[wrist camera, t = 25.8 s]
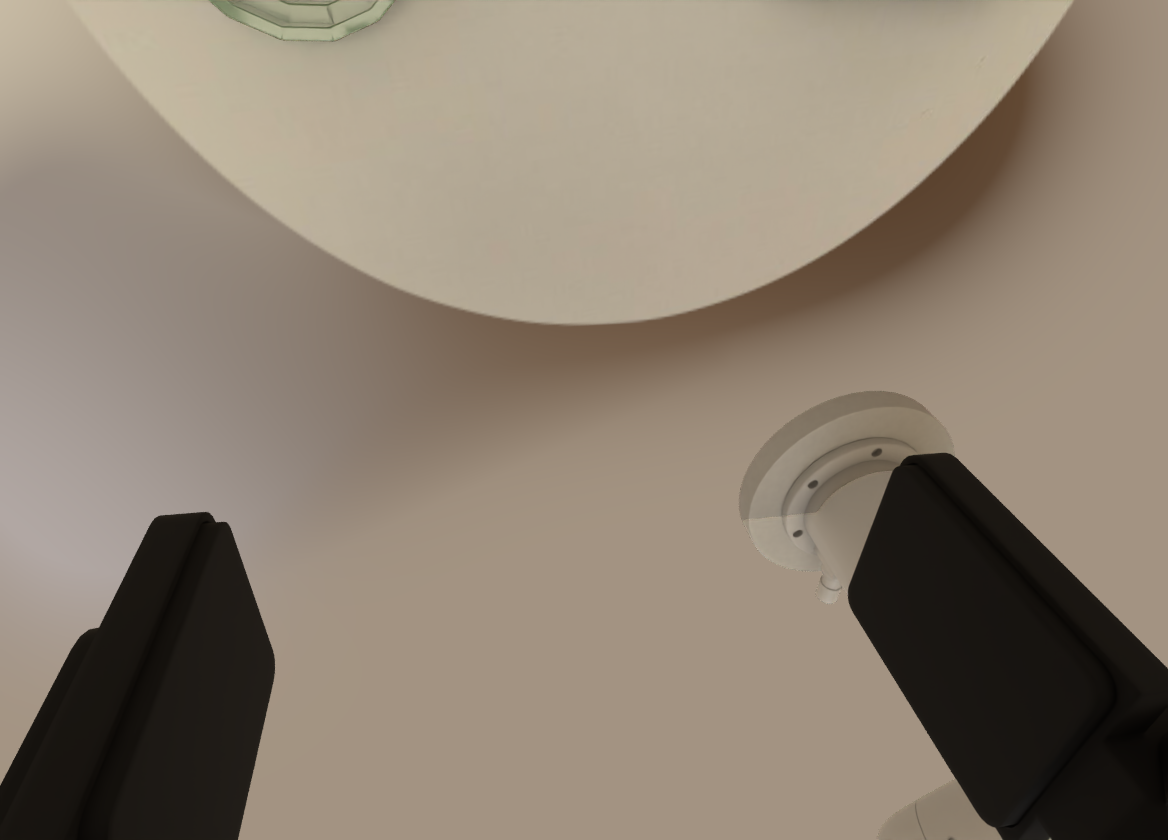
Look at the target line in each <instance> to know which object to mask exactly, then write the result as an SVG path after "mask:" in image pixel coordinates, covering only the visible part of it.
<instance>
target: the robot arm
mask: <svg viewBox="0 0 1168 840" xmlns="http://www.w3.org/2000/svg"><path fill="white" fill-rule="evenodd" d="M782 522H783V526H784V529H785V531H786V533H787V535H788V536H789V538H790V539H791V541H792V543H793V544H794V545H796V546H797V547H798V548H799V549H800V550H802V551H804V552H806V553H809V554H813V555H816V556H818V557H819V559H820V560H821V562H822V566H821V570H822V572H823V576H822V577H821V578H820V581H819V584H818V587H817V589H816V596H817V598H818V599H819V600H821V601H822V602H824V603H827V604H833V603H835V602H837V599H838V596H839V594H840V591H841V588H843V589H844V591H845V592H846V594H847V596H848V600H849V604H850V607H851V609H852V611H853V613H854V615H855V616H856V618H857V619H858V621H859V623H860V625H861V626H862V628H863V629H864V631H865V633H866V634H867V636H868V637H869V639H870V641H871V642H872V644H873V646H874V647H875V649H876V650H877V652H878V653H879V655H880V657H881V658H882V660H883V662H884V663H885V665H886V666H887V668H888V670H889V671H890V673H891V675H892V676H893V678H894V679H895V681H896V683H897V684H898V686H899V688H900V689H901V691H902V692H903V694H904V696H905V697H906V699H907V701H908V702H909V704H910V705H911V707H912V709H913V710H914V712H915V714H916V715H917V717H918V718H919V720H920V721H921V723H922V725H923V726H924V728H925V730H926V731H927V733H928V734H929V736H930V738H931V739H932V741H933V743H934V744H935V746H936V748H937V749H938V751H939V752H940V754H941V755H942V757H943V759H944V760H945V762H946V764H947V765H948V767H949V769H950V770H951V772H952V773H953V775H954V777H955V778H956V779H954V780H952V781H951V782H949V783H947V784H945V785H943V786H941V787H939V788H938V789H936V790H934V791H932V792H930V793H928V794H927V795H925V796H923V797H921V798H920V799H918V800H916V801H914V802H913V803H911V804H909V805H907V806H906V807H904V808H902V809H901V810H899V811H898V812H896V813H895V814H893V815H892V816H891V817H890V818H889V819H888V820H887V821H886V822H885V823H884V824H883V825H882V827H881V829H880V831H879V833H878V836H877V840H1168V669H1167V667H1166V666H1165V665H1164V664H1163V663H1162V662H1161V661H1160V660H1159V659H1158V658H1157V657H1155V655H1154V654H1153V653H1152V652H1151V651H1150V650H1149V649H1148V648H1146V647H1145V645H1144V644H1142V642H1141V641H1140V640H1139V639H1138V638H1137V637H1136V636H1135V635H1134V634H1132V632H1130V630H1128V629H1127V627H1126V626H1124V625H1123V623H1122V622H1120V621H1119V619H1118V618H1116V617H1115V616H1114V615H1113V614H1112V613H1111V612H1110V611H1109V610H1108V609H1107V608H1106V607H1105V606H1104V605H1103V604H1102V603H1101V602H1100V601H1099V600H1098V599H1097V598H1096V597H1095V596H1094V595H1093V594H1092V593H1091V592H1090V591H1089V590H1088V589H1087V588H1086V587H1085V586H1084V585H1083V584H1082V583H1081V582H1080V581H1079V580H1078V579H1077V578H1076V577H1075V576H1074V575H1073V574H1072V573H1071V572H1070V571H1069V570H1068V569H1067V568H1066V567H1065V566H1064V565H1063V564H1062V563H1061V562H1060V561H1059V560H1058V559H1057V558H1056V557H1055V556H1054V555H1053V554H1052V553H1051V552H1050V551H1049V550H1048V549H1047V548H1046V547H1045V546H1044V545H1043V544H1042V543H1041V542H1040V541H1039V540H1038V539H1037V538H1036V537H1035V536H1034V535H1033V534H1032V533H1031V532H1030V531H1029V530H1028V529H1027V528H1026V527H1025V526H1024V525H1023V524H1022V523H1021V522H1020V521H1019V520H1018V519H1017V518H1016V517H1015V516H1014V515H1013V514H1012V513H1011V512H1010V511H1009V510H1008V509H1007V508H1006V507H1005V506H1004V505H1003V504H1002V503H1001V502H1000V501H999V500H998V499H997V498H996V497H995V496H994V495H993V494H992V493H991V492H990V491H989V490H988V489H987V488H986V487H985V486H984V485H983V484H982V483H981V482H980V481H979V480H978V479H977V478H976V477H975V476H974V475H973V474H972V473H971V472H970V471H969V470H968V469H967V468H966V467H965V466H964V465H963V464H962V463H961V462H960V461H959V460H958V459H957V458H956V457H954V456H953V455H951V454H948V453H935V454H923V455H919V454H918V453H917V452H916V450H915V449H913V448H912V447H911V446H909V445H908V444H907V443H904V442H902V441H899V440H896V439H890V438H869V439H864V440H859V441H855V442H852V443H849V444H846V445H843V446H841V447H839V448H837V449H835V450H833V451H831V452H829V453H827V454H826V455H824V456H823V457H821V458H820V459H818V460H817V461H815V462H814V463H813V464H812V465H811V466H810V467H808V468H807V469H806V470H805V471H804V472H803V473H802V474H801V475H800V477H799V478H798V479H797V480H796V481H795V483H794V484H793V486H792V487H791V489H790V491H789V492H788V494H787V497H786V499H785V502H784V504H783V510H782ZM274 674H275V659H274V653H273V649H272V647H271V644H270V641H269V638H268V635H267V632H266V629H265V626H264V623H263V620H262V618H261V615H260V612H259V609H258V606H257V603H256V600H255V597H254V594H253V591H252V589H251V586H250V583H249V580H248V577H247V574H246V571H245V569H244V565H243V562H242V560H241V557H240V554H239V551H238V548H237V545H236V543H235V540H234V537H233V533H232V531H231V528H230V526H229V525H228V523H227V522H217V523H216V522H215V520H214V518H213V516H212V515H211V514H210V513H208V512H199V513H187V514H175V515H163V516H158V517H156V518H155V519H154V520H153V521H152V523H151V525H150V526H149V528H148V530H147V532H146V534H145V536H144V538H143V540H142V542H141V545H140V547H139V549H138V550H137V552H136V554H135V556H134V558H133V560H132V563H131V564H130V566H129V569H128V571H127V573H126V575H125V577H124V579H123V581H122V583H121V585H120V587H119V589H118V591H117V593H116V595H115V597H114V599H113V601H112V603H111V605H110V607H109V609H108V611H107V613H106V615H105V617H104V619H103V621H102V623H101V625H100V627H99V628H95V629H90V630H88V631H87V632H85V633H84V634H83V635H82V636H80V637H79V639H78V640H77V642H76V643H75V645H74V646H73V648H72V649H71V651H70V653H69V655H68V657H67V659H66V660H65V662H64V664H63V666H62V668H61V670H60V672H59V674H58V676H57V678H56V680H55V682H54V683H53V685H52V687H51V689H50V691H49V693H48V695H47V697H46V699H45V701H44V703H43V705H42V707H41V708H40V711H39V713H38V714H37V716H36V718H35V720H34V722H33V724H32V726H31V728H30V730H29V731H28V733H27V735H26V737H25V739H24V741H23V743H22V745H21V747H20V749H19V751H18V753H17V754H16V756H15V758H14V760H13V762H12V764H11V766H10V768H9V770H8V772H7V774H6V776H5V778H4V779H3V781H2V783H1V785H0V840H238V837H239V832H240V828H241V823H242V819H243V814H244V810H245V806H246V801H247V796H248V792H249V788H250V782H251V779H252V774H253V770H254V766H255V761H256V757H257V752H258V748H259V743H260V739H261V734H262V730H263V725H264V721H265V717H266V712H267V708H268V703H269V699H270V694H271V690H272V685H273V681H274Z"/></svg>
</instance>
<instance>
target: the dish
mask: <svg viewBox="0 0 1168 840" xmlns="http://www.w3.org/2000/svg"><path fill="white" fill-rule="evenodd" d="M209 1H210V2H211V3H212V4H213V5H215V6H216V7H217V8H218V9H219V10H220V11H221V12H222V13H224V14H225V15H226V16H228V17H229V18H231V19H233V20H236V21H238V22H240V23H243V24H245V25H247V26H250V27H252V28H254V29H256V30H259V31H261V32H263V33H266V34H268V35H270V36H273V37H275V38H277V39H280V40H284V41H327V42H333V41H337V40H339V39H341V38H343V37H345V36H348V35H350V34H352V33H354V32H356V31H358V30H361V29H363V28H365V27H367V26H369V25H372V24H374V23H376V22H378V21H379V20H380V19H381V18H382V16H383V15H384V14H385V13H386V11H387V10H388V9H389V8H390V6H391V5H392V4H393V3H394V1H395V0H209Z"/></svg>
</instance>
